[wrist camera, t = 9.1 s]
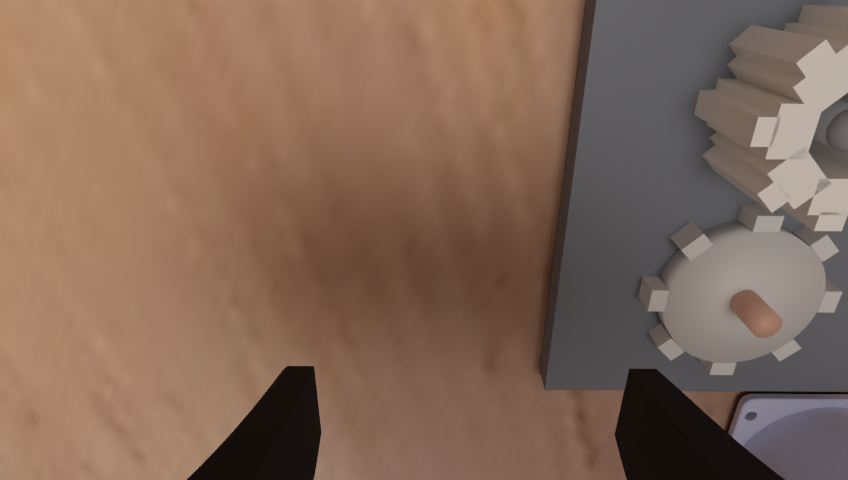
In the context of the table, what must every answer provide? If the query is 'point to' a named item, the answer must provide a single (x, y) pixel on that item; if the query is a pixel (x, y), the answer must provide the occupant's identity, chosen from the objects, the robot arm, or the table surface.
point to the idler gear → (784, 117)
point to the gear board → (683, 221)
